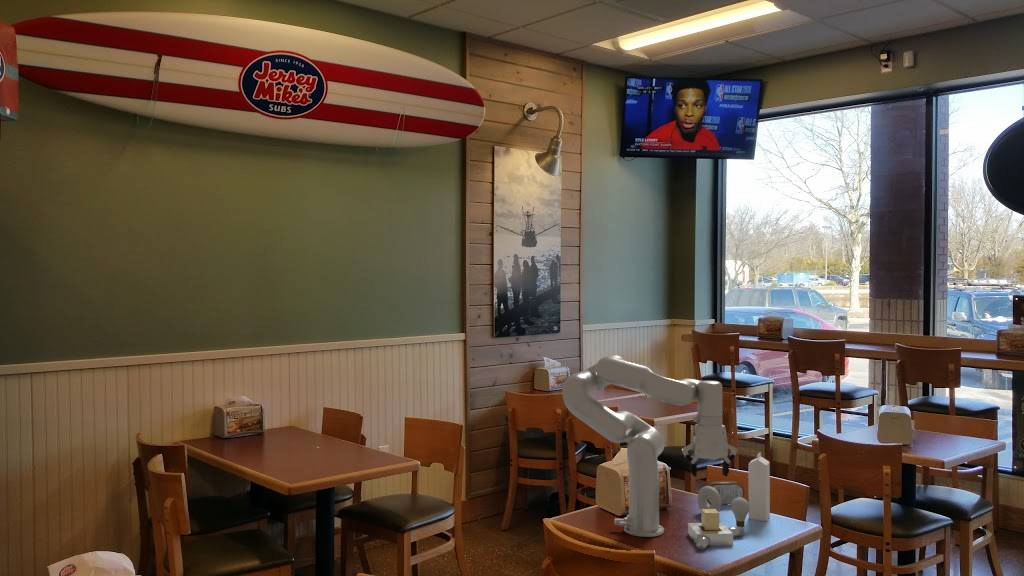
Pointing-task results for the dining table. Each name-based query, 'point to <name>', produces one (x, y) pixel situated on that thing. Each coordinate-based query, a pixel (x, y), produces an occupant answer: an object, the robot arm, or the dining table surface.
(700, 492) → the donut
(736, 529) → the shaft right
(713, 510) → the block
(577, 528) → the dining table surface
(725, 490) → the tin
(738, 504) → the light bulb
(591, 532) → the dining table surface
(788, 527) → the dining table surface
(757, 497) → the milk
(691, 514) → the dining table surface
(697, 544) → the shaft left
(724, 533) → the white square socket base
